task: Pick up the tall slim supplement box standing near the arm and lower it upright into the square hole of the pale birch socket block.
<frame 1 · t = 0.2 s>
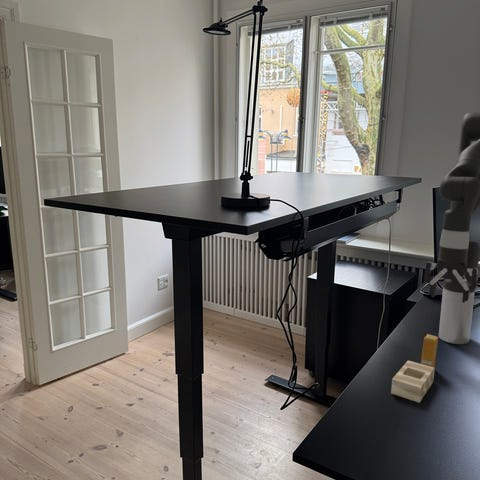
hand: (448, 299, 131), 18 cm above the table, tool pointing down, fingers open, 8 cm apart
supplement box: (427, 370, 125), on the table
socket block: (412, 387, 115), on the table
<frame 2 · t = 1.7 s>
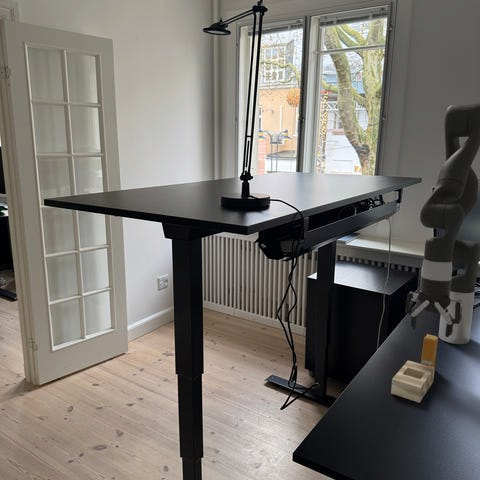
hand: (430, 332, 122), 11 cm above the table, tool pointing down, fingers open, 8 cm apart
nothing on the table moved.
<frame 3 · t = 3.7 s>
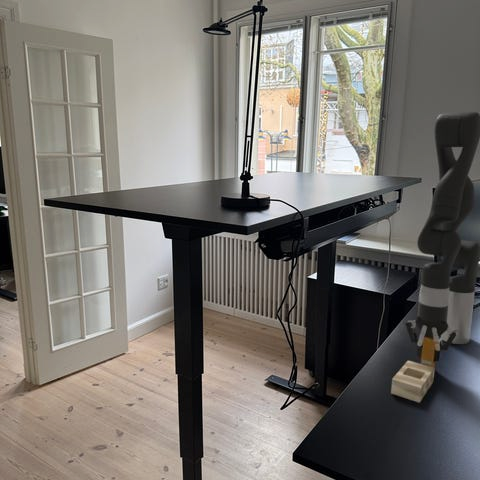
hand: (428, 359, 124), 3 cm above the table, tool pointing down, fingers closed on supplement box, 3 cm apart
supplement box: (427, 370, 125), on the table, touching gripper
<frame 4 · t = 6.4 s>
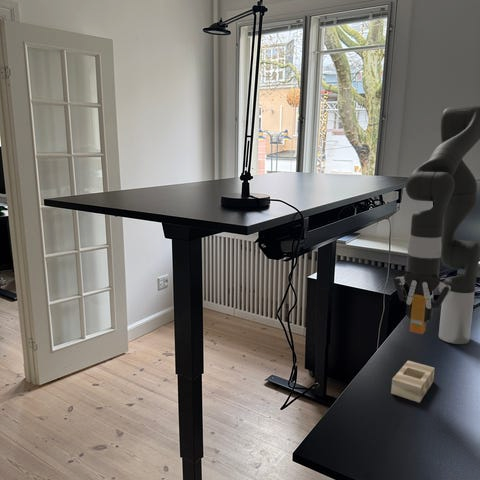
hand: (418, 319, 112), 19 cm above the table, tool pointing down, fingers closed on supplement box, 3 cm apart
supplement box: (418, 332, 112), point 15 cm above the table, touching gripper
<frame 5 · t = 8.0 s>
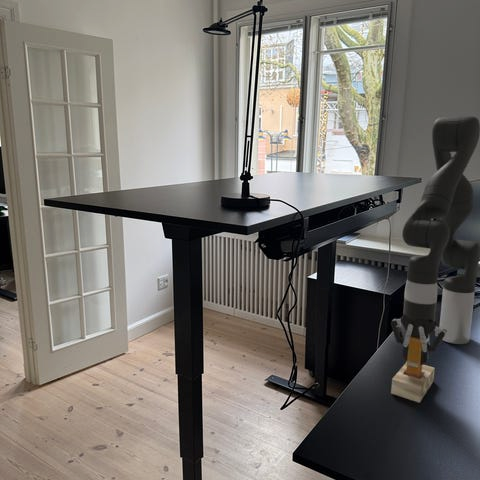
hand: (415, 361, 114), 7 cm above the table, tool pointing down, fingers closed on supplement box, 3 cm apart
supplement box: (414, 373, 114), point 4 cm above the table, touching gripper
when the fingers open (5 cm above the table, at t = 9.2 s): supplement box drops 1 cm, resting in socket block.
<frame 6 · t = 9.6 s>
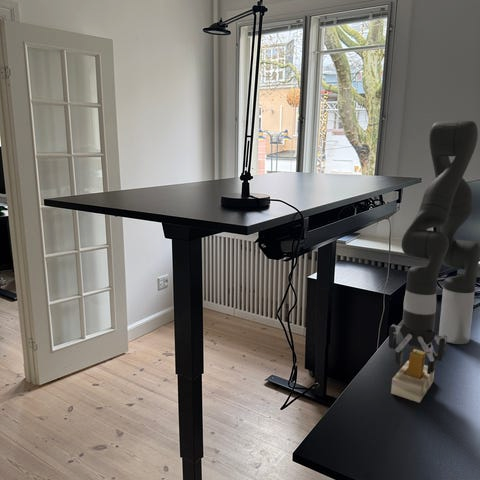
hand: (414, 368, 114), 5 cm above the table, tool pointing down, fingers open, 7 cm apart
supplement box: (414, 388, 115), resting in socket block
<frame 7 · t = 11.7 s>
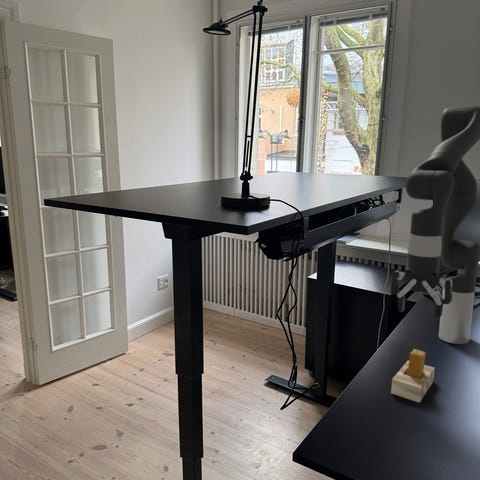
hand: (418, 314, 112), 20 cm above the table, tool pointing down, fingers open, 8 cm apart
nothing on the table moved.
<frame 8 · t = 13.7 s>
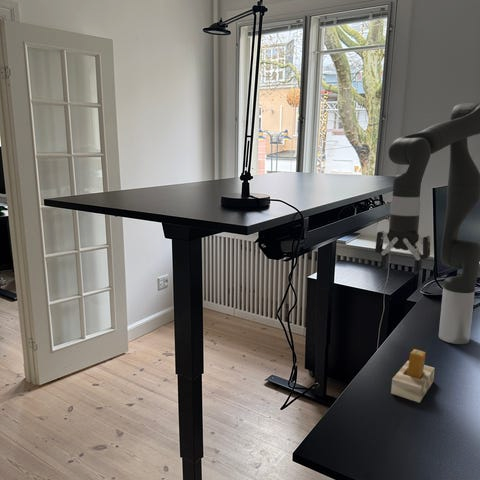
hand: (400, 270, 123), 28 cm above the table, tool pointing down, fingers open, 8 cm apart
nothing on the table moved.
at the end: supplement box 0.4 cm off-centre on the socket block, point 0.0 cm above the socket block's base; supplement box tilted 0°; the gripper is holding nothing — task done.
